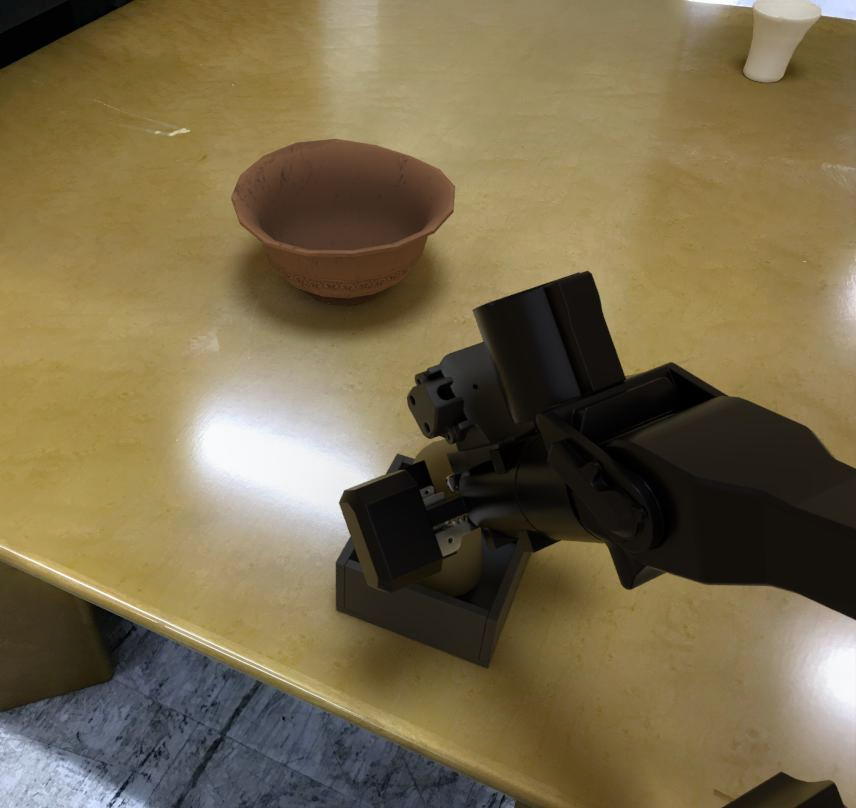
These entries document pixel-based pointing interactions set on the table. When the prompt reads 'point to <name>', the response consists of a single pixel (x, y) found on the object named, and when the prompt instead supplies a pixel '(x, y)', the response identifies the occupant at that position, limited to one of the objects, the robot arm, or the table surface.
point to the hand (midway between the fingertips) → (437, 489)
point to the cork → (468, 562)
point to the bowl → (342, 215)
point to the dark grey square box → (438, 600)
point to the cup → (777, 36)
